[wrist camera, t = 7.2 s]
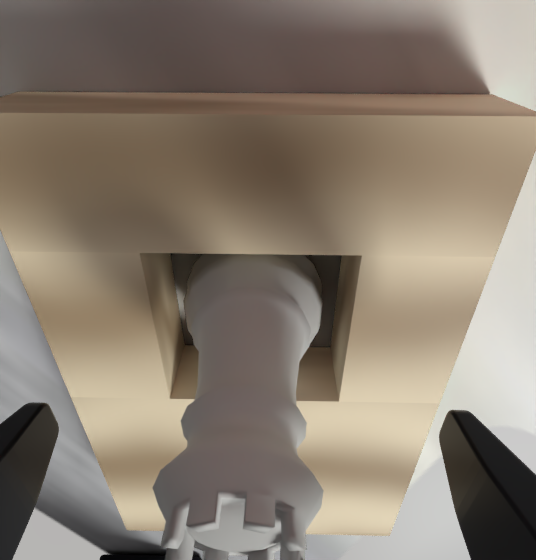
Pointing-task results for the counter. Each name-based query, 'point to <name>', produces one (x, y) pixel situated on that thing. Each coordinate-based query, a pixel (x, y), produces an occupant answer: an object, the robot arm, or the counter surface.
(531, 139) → the socket block
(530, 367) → the counter surface
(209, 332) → the rook chess piece
